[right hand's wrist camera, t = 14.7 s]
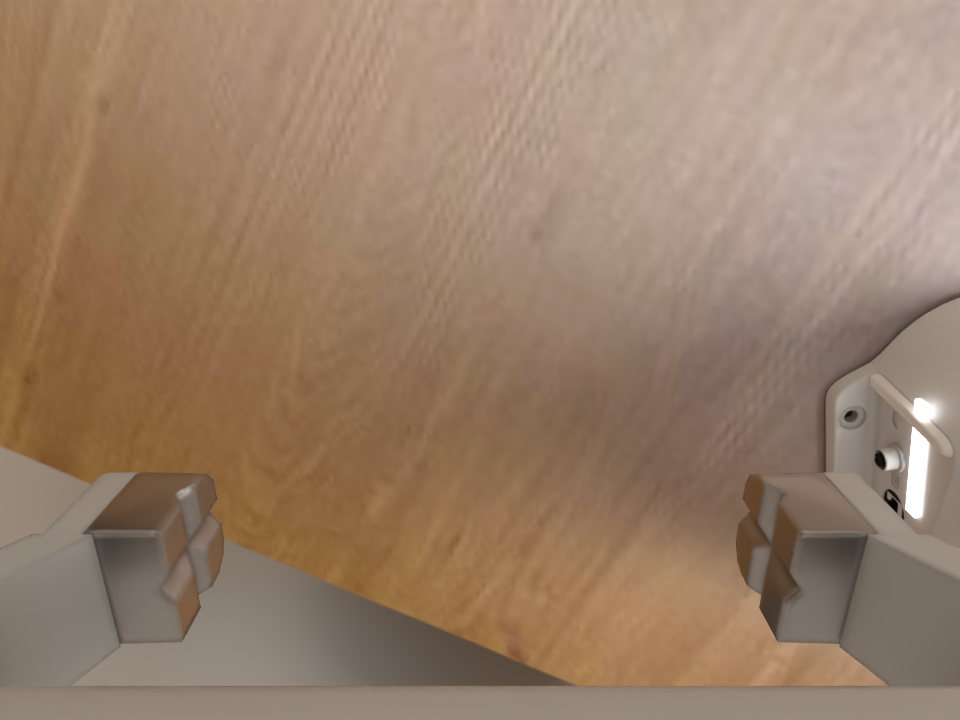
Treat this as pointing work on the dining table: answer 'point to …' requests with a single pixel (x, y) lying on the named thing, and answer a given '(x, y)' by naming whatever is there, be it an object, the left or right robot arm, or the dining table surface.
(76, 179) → the dining table surface
